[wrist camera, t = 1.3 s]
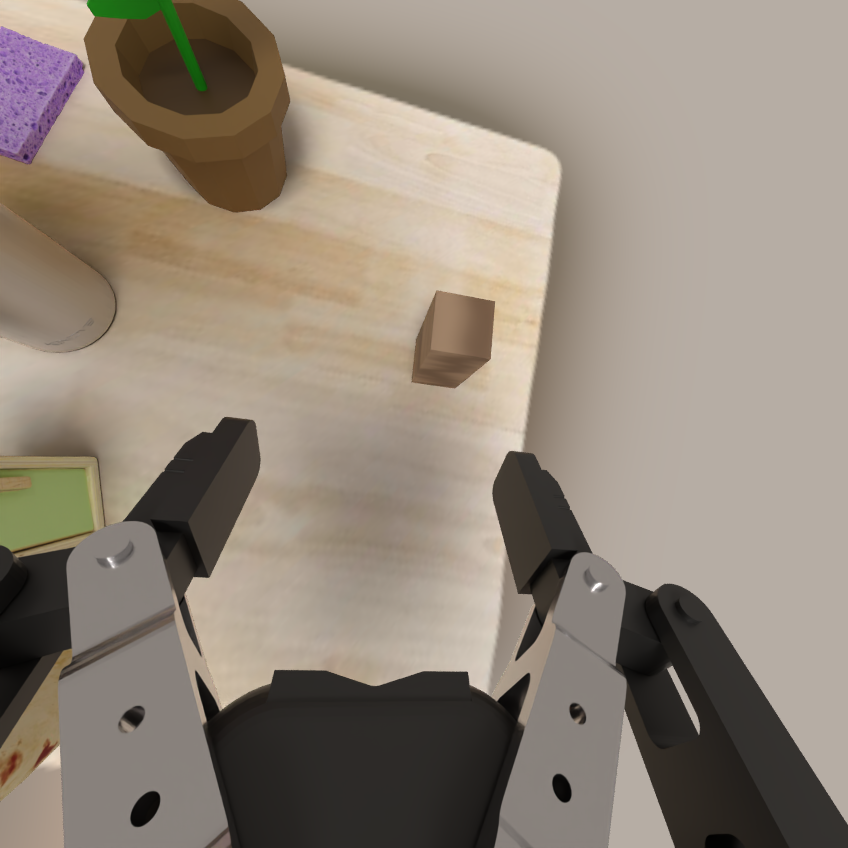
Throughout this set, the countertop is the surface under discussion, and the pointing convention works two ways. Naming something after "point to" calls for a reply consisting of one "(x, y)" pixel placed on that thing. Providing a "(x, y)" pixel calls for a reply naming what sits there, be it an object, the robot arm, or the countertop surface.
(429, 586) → the countertop surface
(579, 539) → the robot arm
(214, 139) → the flowerpot
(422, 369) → the walnut block
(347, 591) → the countertop surface
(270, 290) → the countertop surface
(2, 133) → the sponges
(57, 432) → the countertop surface
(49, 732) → the food model
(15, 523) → the toy refrigerator
